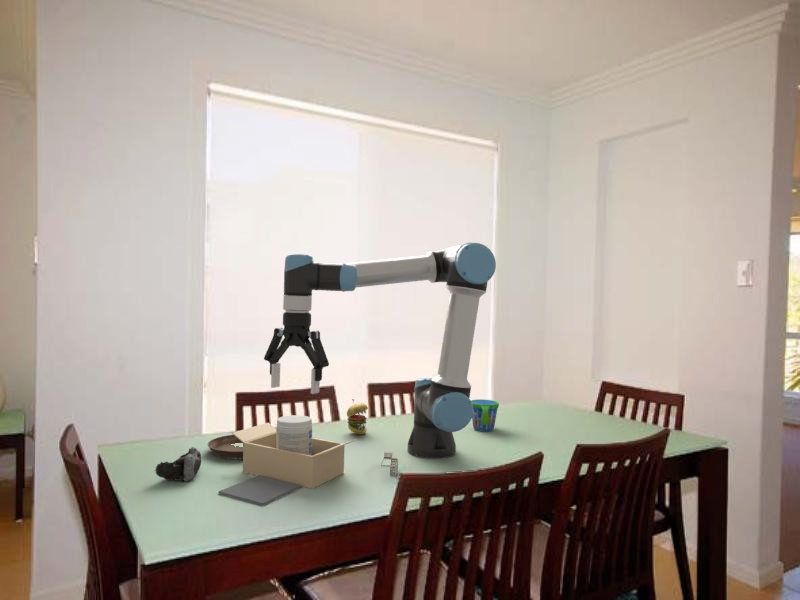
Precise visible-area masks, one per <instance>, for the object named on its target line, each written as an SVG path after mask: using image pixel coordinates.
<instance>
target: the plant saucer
mask: <svg viewBox="0 0 800 600" xmlns="http://www.w3.org/2000/svg"><path fill="white" fill-rule="evenodd" d="M235 443H243V442H242V441H240V440H239V439H238V438H237V437H236V436H234V435H233V434H229V435H224V436H219V437H215V438H213V439H211V440H210V441H209V442H208V443H207V446H208V449H209V450H210V451H211V452H212V453H213V454H214V455H215V456H217V457H220V458H222V457H223V458H222V459H227V458H229V460H243V447H239V446H236V447H235V446H234V445H231V444H235Z"/></svg>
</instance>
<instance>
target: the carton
mask: <svg viewBox="0 0 800 600" xmlns="http://www.w3.org/2000/svg"><path fill="white" fill-rule="evenodd" d="M276 430H277V427H274V426H273V425H272V424H270V423H269V422H265V423H261V424H258V425H255V426H251V427H248V428H245V429H241V430H237V431H234V432H231V433H232V434H231V435H234V436H236V437H237V438H238V439H239V440H240V441H242V442H243V459H242V460H243V461H242V472H243V473H245V472H246V474H250V475H254V476H258V475H261V476H265V477H269V478H273V479H277V480H282V481H286V482H290V483H294V484H298V485H301V487H304V488H309V489H314V488H316V487H318V486H320V485H322V484H324V483H326V482H328V481H330V480H332V479H334V478H337V477H338V476H340V475H344V473H345V470H344V469H345V445H348V444H351V443H353V442H355V441H358V438H355V439H352V440H350V441H347V442H344V443H341V442H337V441H332V440H328V439H327V440H326V439H323V438H322V439H320V438H315V437H312V456H310V455H306V454H301V453H296V452H291V451H286V450H281V449H277V448H276Z"/></svg>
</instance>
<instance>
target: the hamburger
mask: <svg viewBox="0 0 800 600" xmlns="http://www.w3.org/2000/svg"><path fill="white" fill-rule="evenodd" d="M351 400H352V403H353V404H352V405H351V406H350V407H348V409H347V411H346V416H347V425H348V426H347V427H348V429H349V430H350V431H351V432H352V433H354V434H356V435H365V434H366V432H367V431H368V430H367V429H368V428H367V427H366V424H367V418H368V417H366V416H365V415H366V414H367V410H368V406H367V404H365V402H364V403H363V402H358V403H354V401H355V399H354V398H352V399H351ZM364 414H365V415H364Z"/></svg>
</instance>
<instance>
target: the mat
mask: <svg viewBox="0 0 800 600" xmlns="http://www.w3.org/2000/svg"><path fill="white" fill-rule="evenodd" d="M301 488H302V486H301V485H298V484H294V483H290V482H286V481H282V480H277V479H273V478H269V477H265V476H261V475H255V476H253V477H251V478H248V479H246V480H243V481H241V482H238V483H236V484H233V485H231V486H228V487H225V488H224V489H220V490H219V491H218V495H222V496H225V497H228V498H233V499H236V500H239V501H244V502H248V503H250V504H251V503H252V504H254V505H257V506H262V507H263V506H266V505H268V504H270V503H272V502H274V501H276V500H279V499H280V498H283V497H285V496H286V495H289V494H290V493H293V492H296V491H298V490H300V489H301Z"/></svg>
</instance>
